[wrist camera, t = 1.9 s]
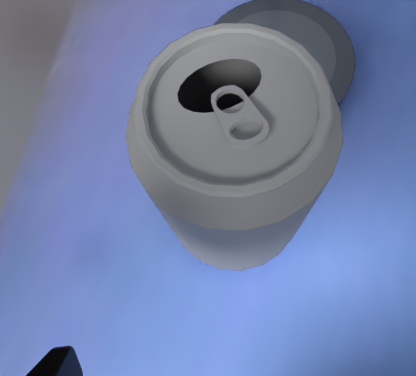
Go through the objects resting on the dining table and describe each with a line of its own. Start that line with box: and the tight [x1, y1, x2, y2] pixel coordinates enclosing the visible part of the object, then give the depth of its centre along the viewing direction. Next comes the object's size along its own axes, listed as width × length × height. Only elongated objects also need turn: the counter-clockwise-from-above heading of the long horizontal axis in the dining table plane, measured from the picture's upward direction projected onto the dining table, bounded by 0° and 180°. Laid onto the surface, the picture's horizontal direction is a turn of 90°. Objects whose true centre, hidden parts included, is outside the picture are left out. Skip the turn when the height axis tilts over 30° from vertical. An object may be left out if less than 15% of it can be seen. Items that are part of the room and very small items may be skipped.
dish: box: [214, 0, 355, 106], centre depth 26 cm, size 10×10×1 cm
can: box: [126, 23, 342, 271], centre depth 17 cm, size 8×8×12 cm
